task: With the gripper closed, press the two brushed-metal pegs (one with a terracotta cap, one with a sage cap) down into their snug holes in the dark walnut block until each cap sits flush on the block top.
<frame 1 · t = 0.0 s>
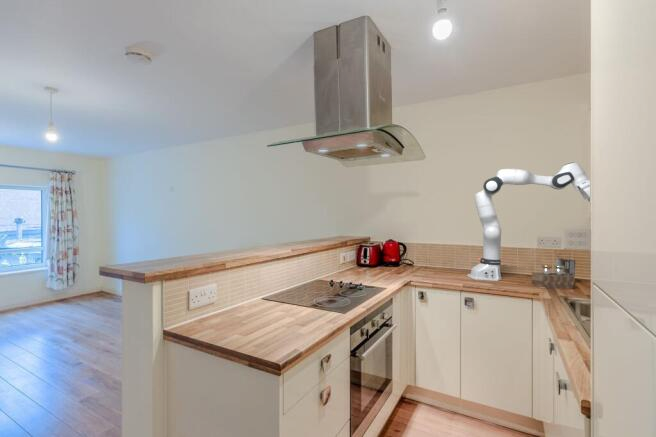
hand: (595, 204, 193), 54 cm above the worktop, tool tilted 30°, fingers open, 8 cm apart
peg a: (546, 272, 202), point 10 cm above the worktop, slide at 0.0 cm
coffee box: (564, 282, 214), on the worktop
peg b: (558, 272, 202), point 10 cm above the worktop, slide at 0.0 cm
socket block: (551, 286, 203), on the worktop
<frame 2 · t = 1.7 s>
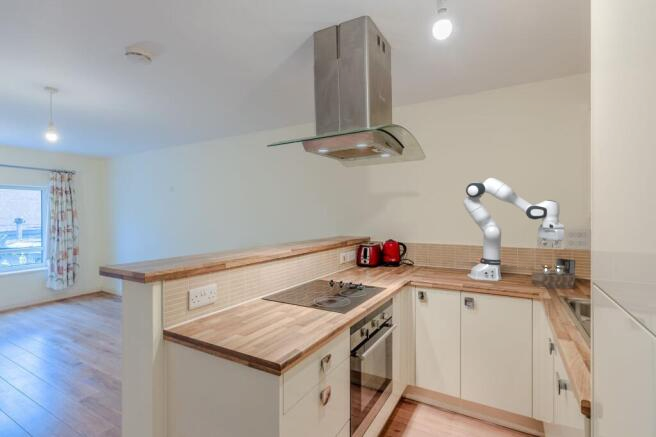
hand: (549, 246, 201), 27 cm above the worktop, tool pointing down, fingers open, 8 cm apart
nothing on the worktop moved.
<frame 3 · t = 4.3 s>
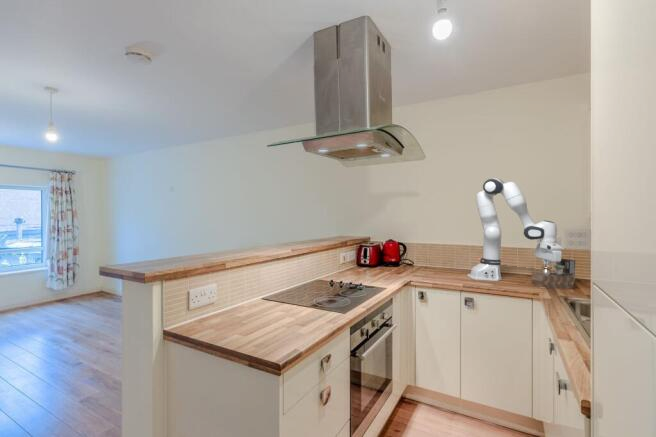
hand: (547, 266, 202), 13 cm above the worktop, tool pointing down, fingers closed, pressing on peg a
peg a: (546, 273, 202), point 9 cm above the worktop, slide at 0.8 cm, touching gripper
everything else where it was.
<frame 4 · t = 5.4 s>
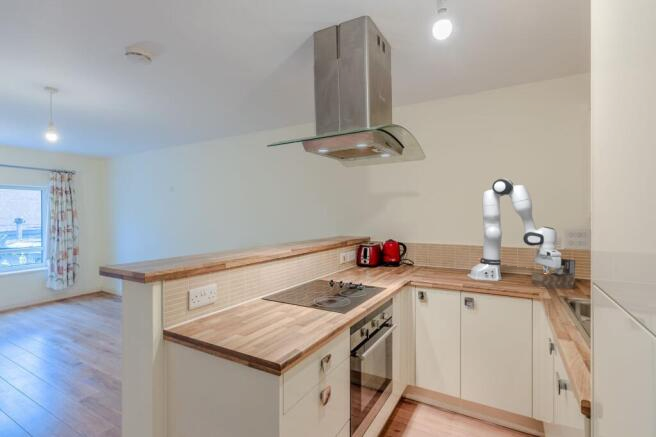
hand: (546, 272, 202), 9 cm above the worktop, tool pointing down, fingers closed, pressing on peg a
peg a: (545, 279, 203), point 5 cm above the worktop, slide at 4.9 cm, touching gripper
everything else where it was.
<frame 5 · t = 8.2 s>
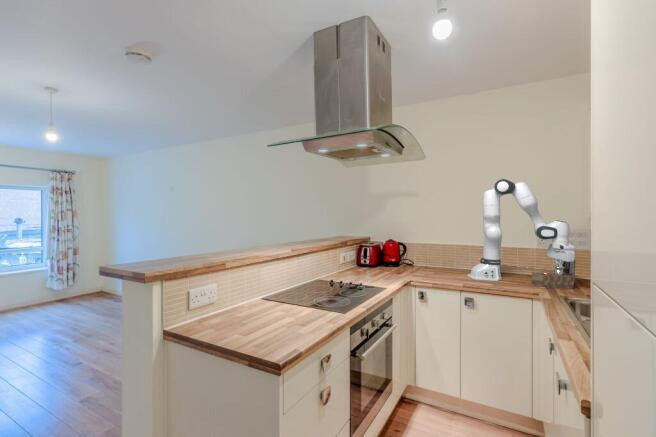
hand: (559, 266, 202), 13 cm above the worktop, tool pointing down, fingers closed, pressing on peg b
peg a: (545, 279, 203), point 5 cm above the worktop, slide at 4.9 cm
peg b: (558, 273, 202), point 9 cm above the worktop, slide at 0.6 cm, touching gripper
everything else where it was.
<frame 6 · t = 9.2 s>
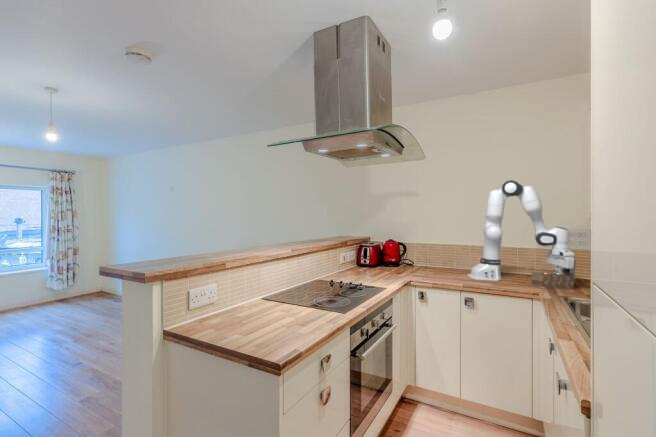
hand: (558, 272, 202), 9 cm above the worktop, tool pointing down, fingers closed, pressing on peg b
peg b: (558, 279, 202), point 5 cm above the worktop, slide at 4.8 cm, touching gripper
everything else where it was.
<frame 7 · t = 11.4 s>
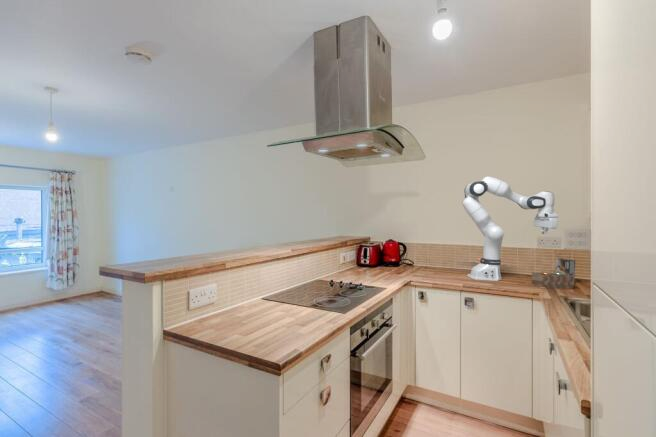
hand: (544, 234, 217), 33 cm above the worktop, tool pointing down, fingers closed
peg b: (558, 279, 202), point 5 cm above the worktop, slide at 4.9 cm
everything else where it was.
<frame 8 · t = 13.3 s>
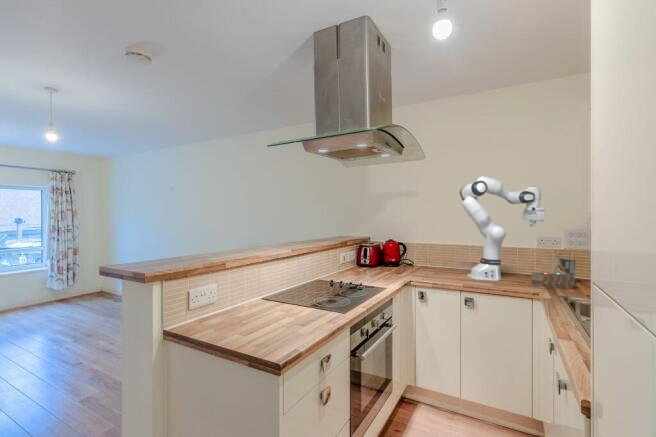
hand: (532, 226, 231), 37 cm above the worktop, tool pointing down, fingers closed
nothing on the worktop moved.
at the end: peg a slide at 4.9 cm; peg b slide at 4.9 cm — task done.
